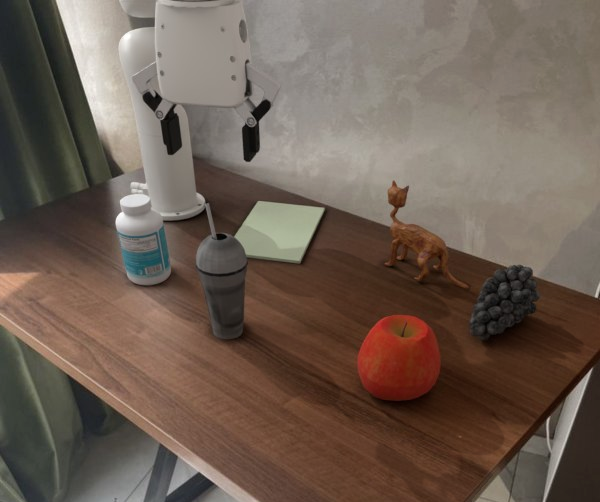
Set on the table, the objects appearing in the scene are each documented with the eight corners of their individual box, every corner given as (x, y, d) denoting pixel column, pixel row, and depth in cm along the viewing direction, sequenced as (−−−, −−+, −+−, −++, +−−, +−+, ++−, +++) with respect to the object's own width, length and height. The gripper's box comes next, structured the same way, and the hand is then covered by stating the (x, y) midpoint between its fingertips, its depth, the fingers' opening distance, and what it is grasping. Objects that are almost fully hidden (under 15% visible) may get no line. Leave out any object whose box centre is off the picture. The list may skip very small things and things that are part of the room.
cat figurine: (478, 287, 101) (496, 208, 91) (456, 302, 97) (472, 222, 88) (392, 250, 110) (401, 175, 101) (369, 263, 106) (376, 187, 97)
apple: (382, 423, 76) (391, 358, 69) (339, 375, 83) (343, 310, 76) (451, 397, 80) (466, 332, 73) (404, 353, 87) (413, 289, 80)
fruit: (495, 300, 81) (547, 257, 89) (443, 295, 87) (495, 255, 95) (501, 356, 85) (549, 310, 93) (450, 348, 91) (500, 305, 99)
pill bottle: (146, 261, 106) (132, 186, 97) (180, 271, 104) (169, 195, 95) (118, 280, 102) (100, 203, 92) (153, 291, 99) (138, 214, 90)
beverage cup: (250, 345, 88) (241, 217, 75) (200, 344, 88) (183, 216, 75) (254, 317, 94) (246, 192, 80) (207, 316, 94) (192, 191, 80)
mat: (224, 254, 108) (223, 251, 108) (258, 203, 124) (258, 200, 124) (299, 263, 106) (299, 260, 106) (324, 210, 122) (324, 207, 121)
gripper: (286, -18, 63) (288, 149, 74) (133, -23, 66) (158, 139, 77) (267, -6, 58) (273, 172, 69) (102, -13, 61) (133, 159, 72)
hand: (212, 154), depth 73 cm, fingers open, 9 cm apart
